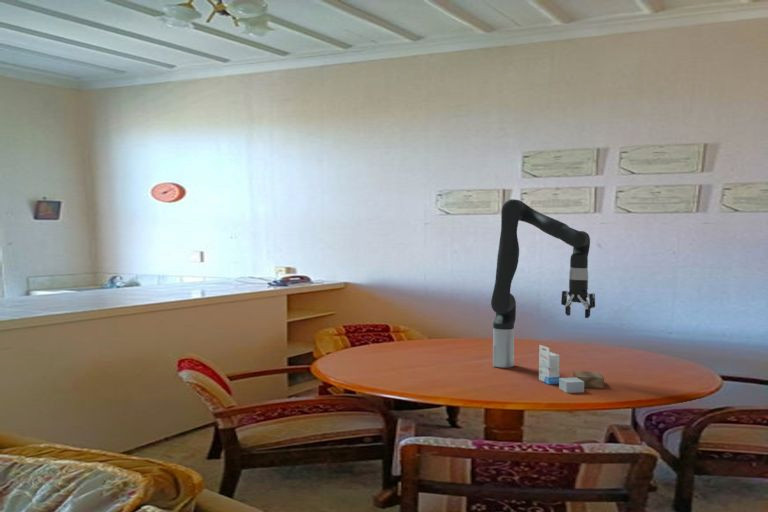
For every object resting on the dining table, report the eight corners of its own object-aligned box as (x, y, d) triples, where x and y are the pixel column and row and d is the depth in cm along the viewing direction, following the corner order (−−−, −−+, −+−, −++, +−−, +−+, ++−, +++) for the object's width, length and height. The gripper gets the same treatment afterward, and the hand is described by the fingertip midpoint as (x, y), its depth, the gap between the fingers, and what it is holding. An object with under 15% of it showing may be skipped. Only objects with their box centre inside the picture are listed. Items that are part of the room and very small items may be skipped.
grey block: (566, 392, 230) (566, 382, 230) (559, 388, 237) (559, 377, 237) (584, 392, 231) (584, 381, 231) (576, 387, 238) (576, 377, 238)
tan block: (577, 387, 239) (577, 376, 239) (573, 380, 249) (573, 371, 249) (603, 387, 237) (604, 377, 237) (598, 381, 247) (598, 371, 247)
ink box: (560, 384, 244) (560, 347, 243) (548, 384, 242) (549, 348, 242) (549, 379, 252) (549, 343, 251) (538, 379, 251) (538, 344, 250)
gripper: (558, 277, 259) (557, 315, 260) (590, 280, 249) (589, 319, 250) (567, 276, 264) (566, 313, 265) (598, 279, 254) (597, 317, 255)
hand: (577, 316), depth 257 cm, fingers open, 8 cm apart
